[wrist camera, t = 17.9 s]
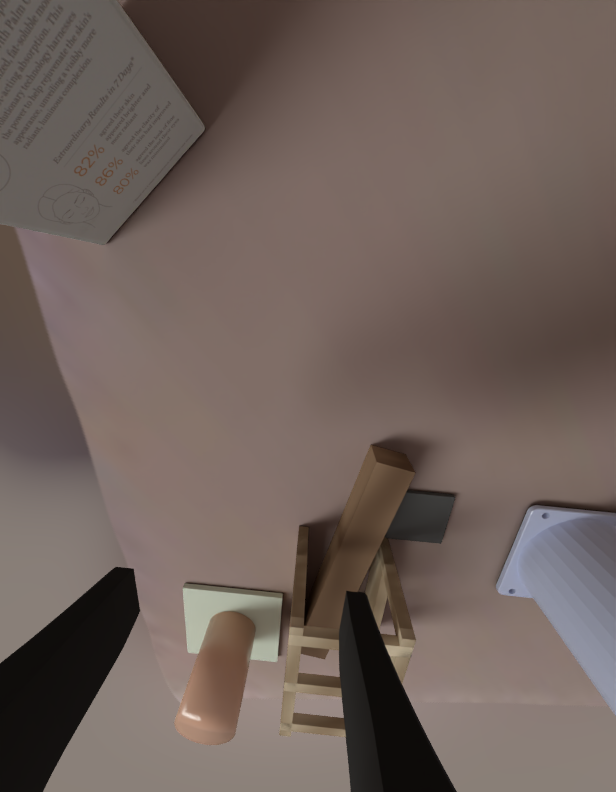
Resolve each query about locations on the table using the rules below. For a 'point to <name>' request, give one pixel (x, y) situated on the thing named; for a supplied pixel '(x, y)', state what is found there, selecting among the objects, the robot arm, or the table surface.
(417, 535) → the mat
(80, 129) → the small box
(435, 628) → the table surface
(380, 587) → the wooden ladder stand
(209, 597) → the pad
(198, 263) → the table surface
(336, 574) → the rod
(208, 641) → the cylinder
